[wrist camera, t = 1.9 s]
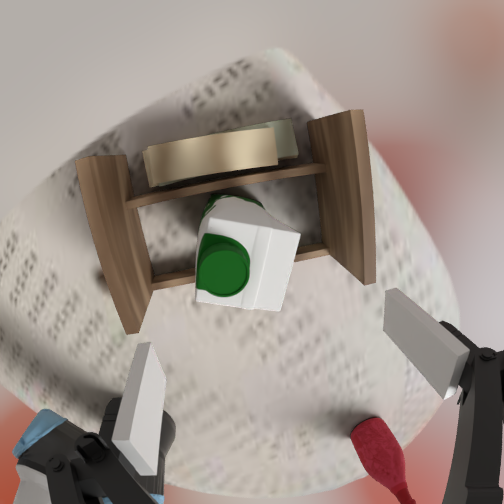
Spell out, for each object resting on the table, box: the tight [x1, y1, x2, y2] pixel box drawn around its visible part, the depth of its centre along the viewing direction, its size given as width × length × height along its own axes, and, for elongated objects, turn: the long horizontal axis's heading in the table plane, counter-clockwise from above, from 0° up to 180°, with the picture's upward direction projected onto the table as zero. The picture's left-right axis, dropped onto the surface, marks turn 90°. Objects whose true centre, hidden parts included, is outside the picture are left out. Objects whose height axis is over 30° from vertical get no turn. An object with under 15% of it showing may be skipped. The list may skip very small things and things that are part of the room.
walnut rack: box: [75, 110, 376, 335], centre depth 35 cm, size 28×19×14 cm, turn 99°
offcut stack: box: [142, 118, 298, 187], centre depth 37 cm, size 20×6×6 cm, turn 100°
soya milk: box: [195, 194, 301, 311], centre depth 33 cm, size 9×9×20 cm
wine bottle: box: [351, 418, 416, 504], centre depth 49 cm, size 10×10×30 cm
